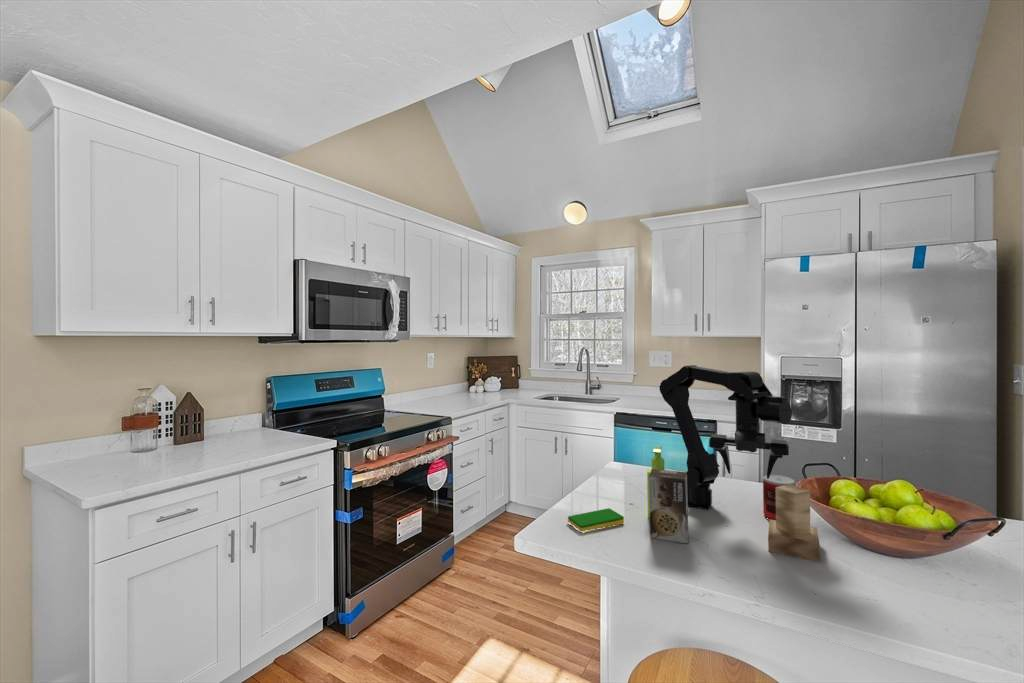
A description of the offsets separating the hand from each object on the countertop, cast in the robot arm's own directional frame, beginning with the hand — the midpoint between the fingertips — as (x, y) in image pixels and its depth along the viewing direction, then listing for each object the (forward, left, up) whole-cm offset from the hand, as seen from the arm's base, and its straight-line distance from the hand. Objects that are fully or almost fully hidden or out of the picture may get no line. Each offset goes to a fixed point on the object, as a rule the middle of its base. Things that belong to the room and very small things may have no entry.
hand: (748, 475), depth 120 cm
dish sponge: (-36, -20, -14) cm, 43 cm away
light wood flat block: (+10, -10, -13) cm, 19 cm away
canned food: (+7, +8, -13) cm, 17 cm away
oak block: (+10, -10, -9) cm, 17 cm away
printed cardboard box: (-17, -18, -13) cm, 28 cm away
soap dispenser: (-22, -8, -13) cm, 27 cm away
